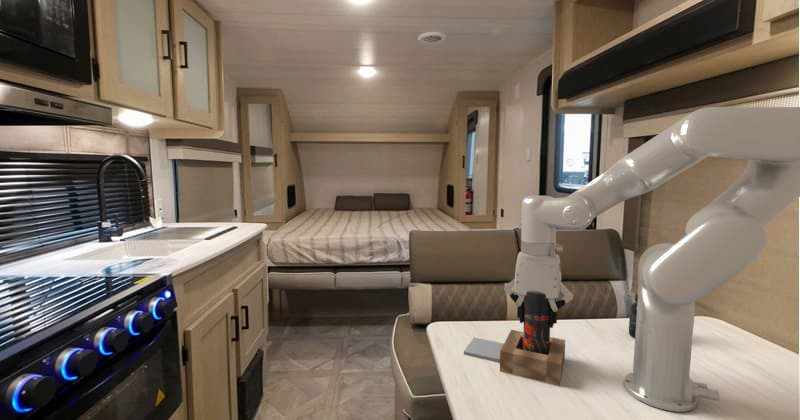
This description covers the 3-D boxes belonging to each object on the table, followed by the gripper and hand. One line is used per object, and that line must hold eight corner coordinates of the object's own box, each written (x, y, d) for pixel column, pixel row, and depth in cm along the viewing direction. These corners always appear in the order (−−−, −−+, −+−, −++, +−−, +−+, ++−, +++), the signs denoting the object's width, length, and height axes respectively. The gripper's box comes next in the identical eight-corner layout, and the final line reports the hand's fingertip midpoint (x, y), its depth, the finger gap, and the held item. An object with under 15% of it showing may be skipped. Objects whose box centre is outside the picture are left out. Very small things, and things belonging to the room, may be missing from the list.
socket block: (564, 359, 92) (565, 339, 92) (560, 386, 81) (561, 364, 80) (510, 347, 98) (511, 329, 98) (499, 371, 87) (500, 350, 86)
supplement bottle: (662, 343, 100) (665, 300, 99) (634, 341, 102) (637, 298, 100) (650, 332, 107) (653, 292, 106) (624, 330, 108) (627, 290, 107)
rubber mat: (507, 347, 99) (507, 344, 99) (499, 362, 91) (499, 359, 91) (473, 340, 103) (473, 337, 103) (463, 354, 95) (463, 351, 95)
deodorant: (553, 357, 86) (555, 294, 85) (527, 357, 86) (528, 294, 85) (544, 345, 92) (545, 286, 91) (519, 345, 92) (520, 286, 91)
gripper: (579, 248, 86) (577, 323, 88) (504, 243, 94) (503, 312, 96) (578, 255, 79) (576, 336, 81) (497, 248, 87) (496, 322, 89)
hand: (536, 322), depth 89 cm, fingers closed on deodorant, 6 cm apart
